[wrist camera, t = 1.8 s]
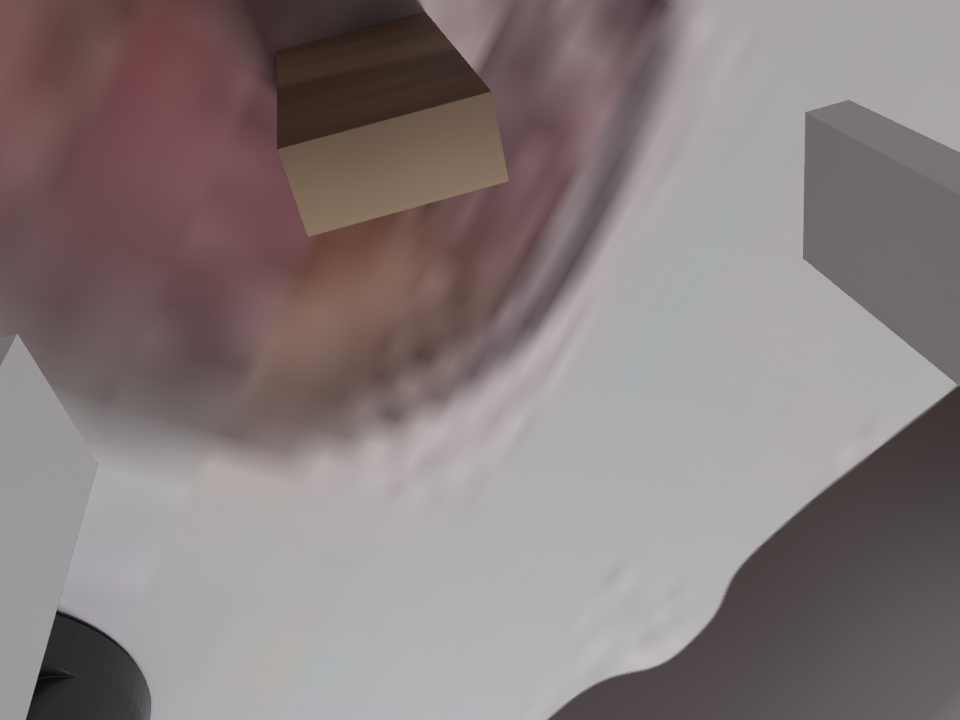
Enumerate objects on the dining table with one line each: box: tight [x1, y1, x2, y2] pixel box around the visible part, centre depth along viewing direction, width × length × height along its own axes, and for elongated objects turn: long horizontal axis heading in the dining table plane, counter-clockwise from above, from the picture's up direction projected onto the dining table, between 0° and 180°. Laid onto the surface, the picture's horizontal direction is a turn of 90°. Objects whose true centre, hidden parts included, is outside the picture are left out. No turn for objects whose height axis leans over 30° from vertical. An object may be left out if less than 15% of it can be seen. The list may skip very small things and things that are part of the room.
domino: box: [277, 13, 509, 237], centre depth 24 cm, size 2×5×10 cm, turn 102°
